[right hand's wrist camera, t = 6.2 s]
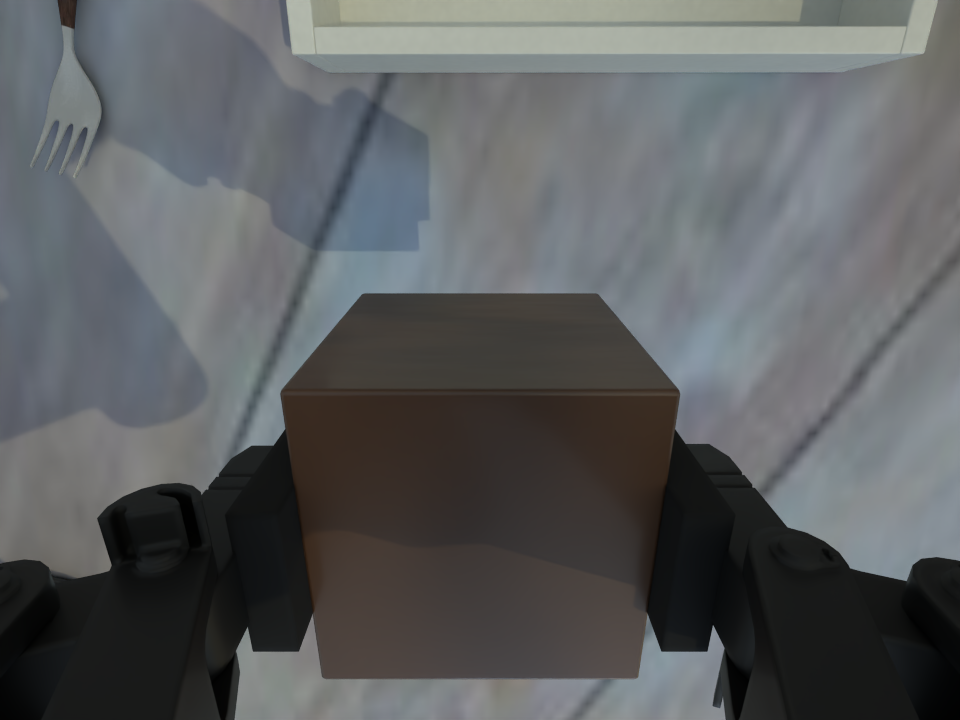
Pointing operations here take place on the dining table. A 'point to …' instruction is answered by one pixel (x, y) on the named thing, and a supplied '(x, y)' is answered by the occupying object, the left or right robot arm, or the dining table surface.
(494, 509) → the walnut block
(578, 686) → the dining table surface
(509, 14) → the bin
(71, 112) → the fork
